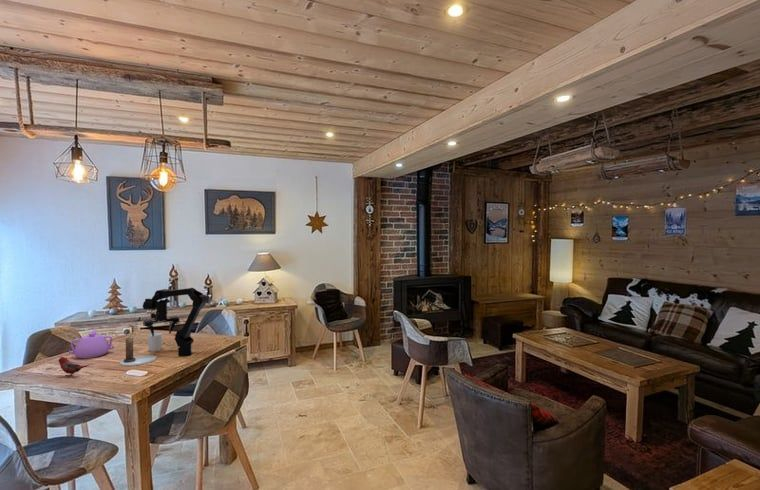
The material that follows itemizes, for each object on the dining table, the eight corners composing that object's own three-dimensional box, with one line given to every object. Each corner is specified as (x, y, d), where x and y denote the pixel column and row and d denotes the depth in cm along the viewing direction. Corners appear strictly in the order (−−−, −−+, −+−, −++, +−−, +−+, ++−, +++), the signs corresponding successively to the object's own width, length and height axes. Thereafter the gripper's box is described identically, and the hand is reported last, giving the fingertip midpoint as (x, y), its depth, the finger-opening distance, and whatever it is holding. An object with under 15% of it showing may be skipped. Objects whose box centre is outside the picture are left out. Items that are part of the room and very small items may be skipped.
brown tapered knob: (136, 359, 215) (136, 337, 215) (133, 362, 209) (133, 339, 209) (125, 360, 213) (125, 337, 213) (122, 363, 208) (122, 340, 207)
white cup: (155, 352, 232) (155, 336, 232) (144, 351, 233) (144, 335, 233) (165, 348, 239) (164, 333, 239) (154, 347, 241) (154, 332, 241)
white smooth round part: (159, 354, 226) (159, 353, 226) (152, 364, 209) (152, 362, 209) (125, 358, 220) (125, 356, 220) (115, 367, 203) (115, 366, 203)
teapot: (115, 347, 242) (115, 326, 241) (113, 356, 223) (113, 333, 223) (72, 353, 230) (72, 331, 229) (66, 362, 211) (66, 338, 211)
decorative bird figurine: (60, 374, 192) (60, 355, 192) (91, 376, 190) (91, 357, 190) (55, 376, 189) (55, 357, 189) (86, 378, 187) (86, 358, 187)
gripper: (174, 306, 239) (174, 330, 239) (140, 310, 226) (140, 335, 226) (179, 308, 231) (179, 333, 231) (145, 312, 218) (145, 338, 218)
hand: (161, 335), depth 227 cm, fingers open, 9 cm apart
